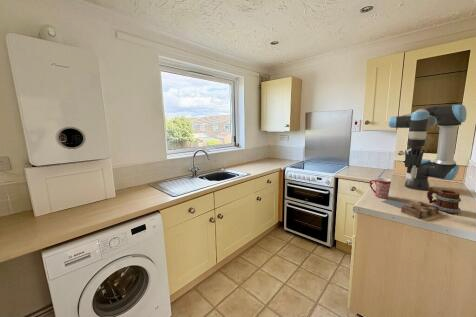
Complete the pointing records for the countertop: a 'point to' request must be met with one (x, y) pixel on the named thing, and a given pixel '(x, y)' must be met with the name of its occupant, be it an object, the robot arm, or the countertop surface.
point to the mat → (396, 202)
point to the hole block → (419, 210)
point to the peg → (410, 181)
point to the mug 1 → (381, 187)
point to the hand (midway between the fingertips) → (410, 177)
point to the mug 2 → (445, 200)
